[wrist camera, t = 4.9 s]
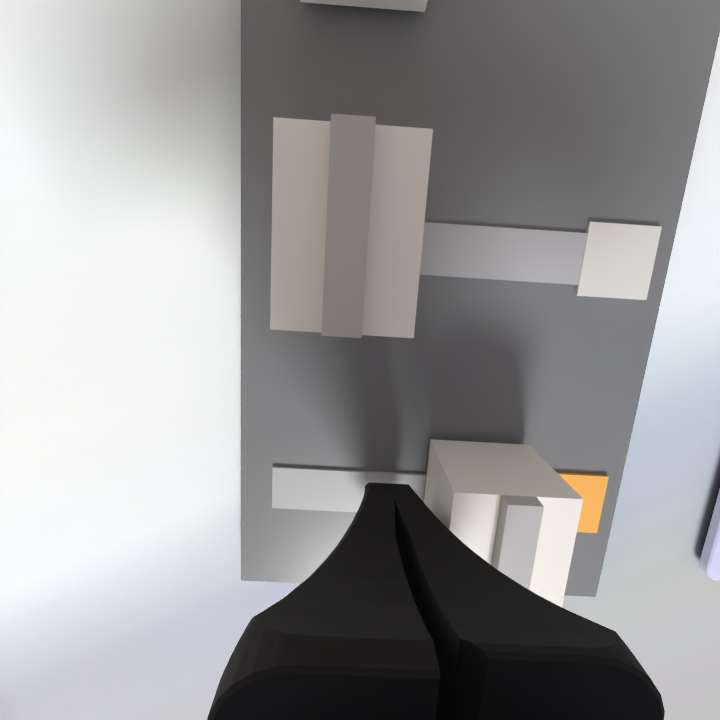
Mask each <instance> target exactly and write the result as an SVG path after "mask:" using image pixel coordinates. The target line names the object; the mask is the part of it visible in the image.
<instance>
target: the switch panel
mask: <svg viewBox="0 0 720 720" xmlns="http://www.w3.org/2000/svg"><path fill="white" fill-rule="evenodd" d="M719 33H720V0H428V2H427V6H426V9H425V12H418V11H406V10H393V9H381V8H368V7H356V6H343V5H331V4H318V3H306V2H300V0H241V580H246V581H267V582H289V583H303V582H304V581H305V580H306V579H307V578H308V577H309V576H310V575H311V574H312V573H313V572H314V571H315V570H316V569H317V568H318V567H319V566H320V565H321V564H322V563H323V562H324V561H325V560H326V558H327V557H328V556H329V555H330V554H331V552H332V551H333V550H334V549H335V547H336V546H337V545H338V543H339V542H340V540H341V539H342V537H343V536H344V534H345V533H346V531H347V529H348V528H349V526H350V524H351V523H352V521H353V519H354V517H355V515H356V513H357V511H358V509H359V507H360V505H361V502H362V499H363V496H364V492H365V485H366V484H368V483H369V482H373V483H392V484H409V485H410V487H411V488H412V489H413V490H414V491H415V493H416V494H417V495H418V496H419V497H420V499H421V500H422V501H423V502H424V496H425V487H426V477H427V468H428V459H429V449H430V440H431V439H434V440H452V441H470V442H489V443H507V444H525V445H530V446H531V447H532V448H533V449H534V450H535V451H536V452H537V453H538V454H539V455H540V456H541V457H542V458H543V459H544V460H545V461H546V462H547V463H548V464H549V465H550V466H551V467H552V468H553V469H554V470H555V471H556V472H557V473H558V474H559V475H560V476H561V477H562V478H563V479H564V480H565V481H566V482H567V483H568V484H569V485H570V486H571V487H572V488H573V489H574V490H575V491H576V492H577V493H578V494H579V495H580V496H581V497H582V498H583V504H582V509H581V514H580V519H579V524H578V529H577V534H576V539H575V544H574V549H573V554H572V559H571V564H570V569H569V574H568V579H567V584H566V589H565V594H564V595H570V596H592V597H596V593H597V588H598V583H599V579H600V574H601V570H602V565H603V561H604V556H605V552H606V547H607V542H608V538H609V533H610V529H611V524H612V520H613V515H614V511H615V506H616V502H617V497H618V492H619V488H620V483H621V479H622V474H623V470H624V465H625V461H626V456H627V451H628V447H629V442H630V438H631V433H632V429H633V424H634V420H635V415H636V410H637V406H638V401H639V397H640V392H641V388H642V383H643V379H644V374H645V370H646V365H647V360H648V356H649V351H650V347H651V342H652V338H653V333H654V329H655V324H656V319H657V315H658V310H659V306H660V301H661V297H662V292H663V288H664V283H665V278H666V274H667V269H668V265H669V260H670V256H671V251H672V247H673V242H674V237H675V233H676V228H677V224H678V219H679V215H680V210H681V206H682V201H683V197H684V192H685V187H686V183H687V178H688V174H689V169H690V165H691V160H692V156H693V151H694V146H695V142H696V137H697V133H698V128H699V124H700V119H701V115H702V110H703V105H704V101H705V96H706V92H707V87H708V83H709V78H710V74H711V69H712V64H713V60H714V55H715V51H716V46H717V42H718V37H719ZM331 114H344V115H358V116H372V117H376V123H375V125H387V126H401V127H414V128H428V129H433V135H432V146H431V157H430V168H429V179H428V189H427V200H426V211H425V222H424V233H423V243H422V254H421V265H420V276H419V287H418V298H417V308H416V319H415V330H414V338H402V337H385V336H369V335H362V338H350V337H334V336H321V334H322V333H319V332H303V331H287V330H270V301H271V237H272V174H273V117H277V118H291V119H305V120H318V121H331Z"/></svg>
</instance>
